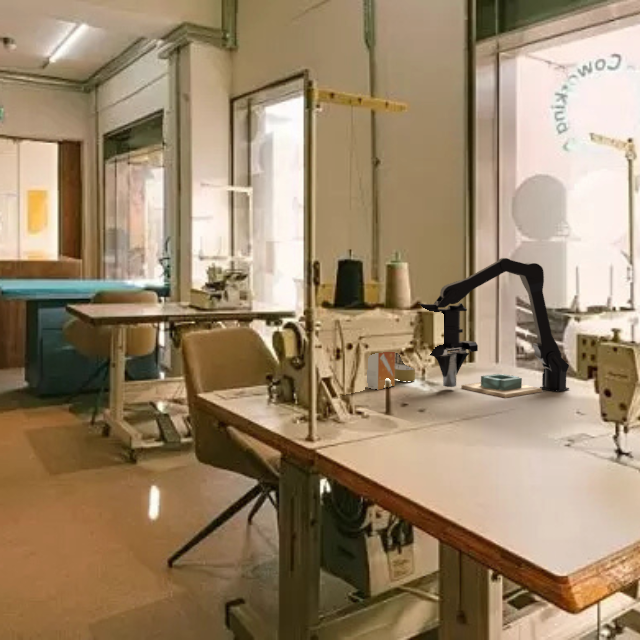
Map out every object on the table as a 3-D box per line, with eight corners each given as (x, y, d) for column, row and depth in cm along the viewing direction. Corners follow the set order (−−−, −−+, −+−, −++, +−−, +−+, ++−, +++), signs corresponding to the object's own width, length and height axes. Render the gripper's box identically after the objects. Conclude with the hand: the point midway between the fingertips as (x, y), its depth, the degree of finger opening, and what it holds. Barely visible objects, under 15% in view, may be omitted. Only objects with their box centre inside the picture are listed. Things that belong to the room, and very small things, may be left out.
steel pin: (459, 386, 230) (459, 353, 229) (449, 387, 228) (449, 354, 227) (449, 384, 233) (450, 352, 232) (440, 385, 231) (440, 353, 230)
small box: (378, 390, 230) (378, 348, 229) (363, 387, 235) (363, 346, 234) (395, 387, 236) (395, 346, 235) (380, 384, 240) (380, 344, 239)
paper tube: (414, 379, 249) (415, 304, 247) (415, 382, 243) (416, 306, 240) (394, 378, 250) (394, 304, 248) (394, 382, 243) (394, 306, 241)
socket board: (541, 391, 227) (541, 378, 227) (505, 397, 218) (505, 384, 218) (496, 382, 242) (497, 370, 242) (461, 388, 233) (461, 375, 233)
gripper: (453, 321, 240) (453, 369, 242) (409, 325, 230) (409, 375, 231) (479, 324, 231) (478, 374, 233) (434, 328, 221) (434, 380, 222)
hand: (449, 375), depth 230 cm, fingers closed on steel pin, 4 cm apart
